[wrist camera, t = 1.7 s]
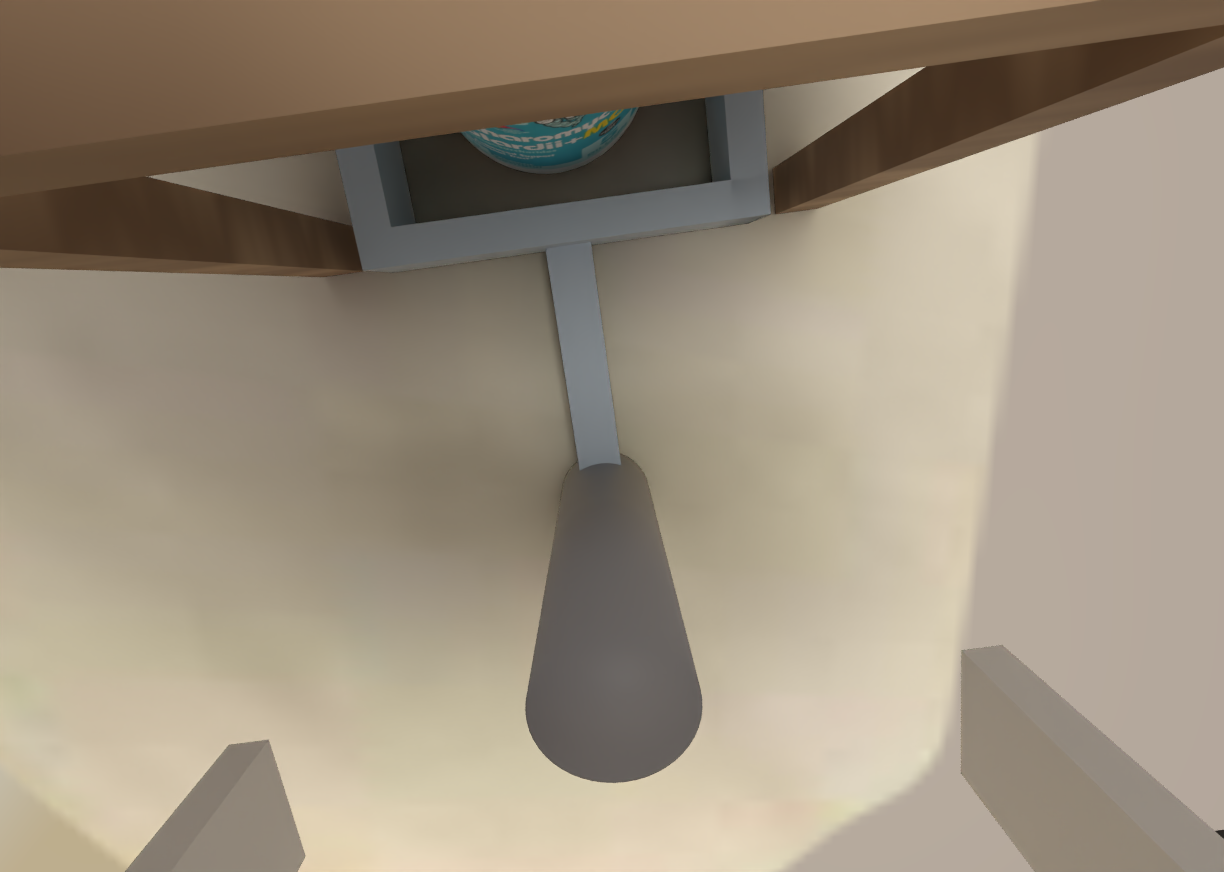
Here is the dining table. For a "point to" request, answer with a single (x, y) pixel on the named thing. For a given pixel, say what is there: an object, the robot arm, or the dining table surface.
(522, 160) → the pill bottle
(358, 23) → the tunnel
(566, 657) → the grey frame on stick
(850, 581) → the dining table surface
